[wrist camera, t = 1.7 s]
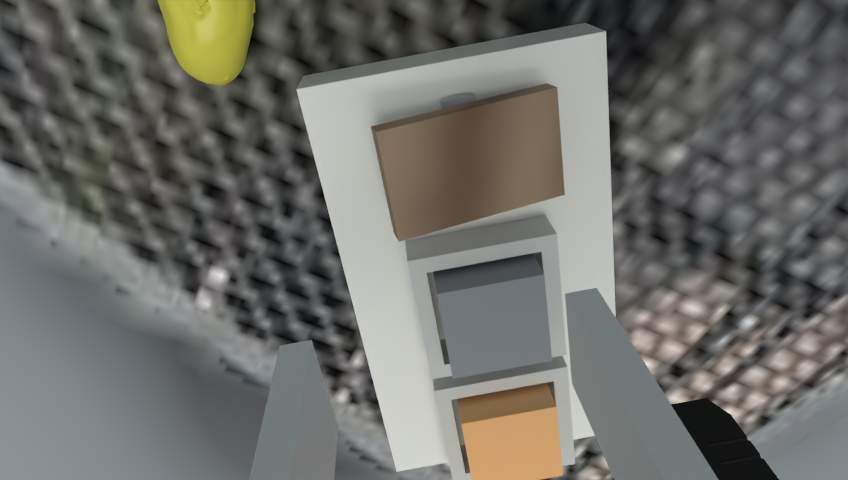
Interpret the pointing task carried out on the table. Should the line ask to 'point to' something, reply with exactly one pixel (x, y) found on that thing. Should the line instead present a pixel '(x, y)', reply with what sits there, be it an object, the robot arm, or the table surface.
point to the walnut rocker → (471, 160)
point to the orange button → (512, 434)
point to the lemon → (209, 36)
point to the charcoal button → (494, 315)
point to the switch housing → (463, 226)
